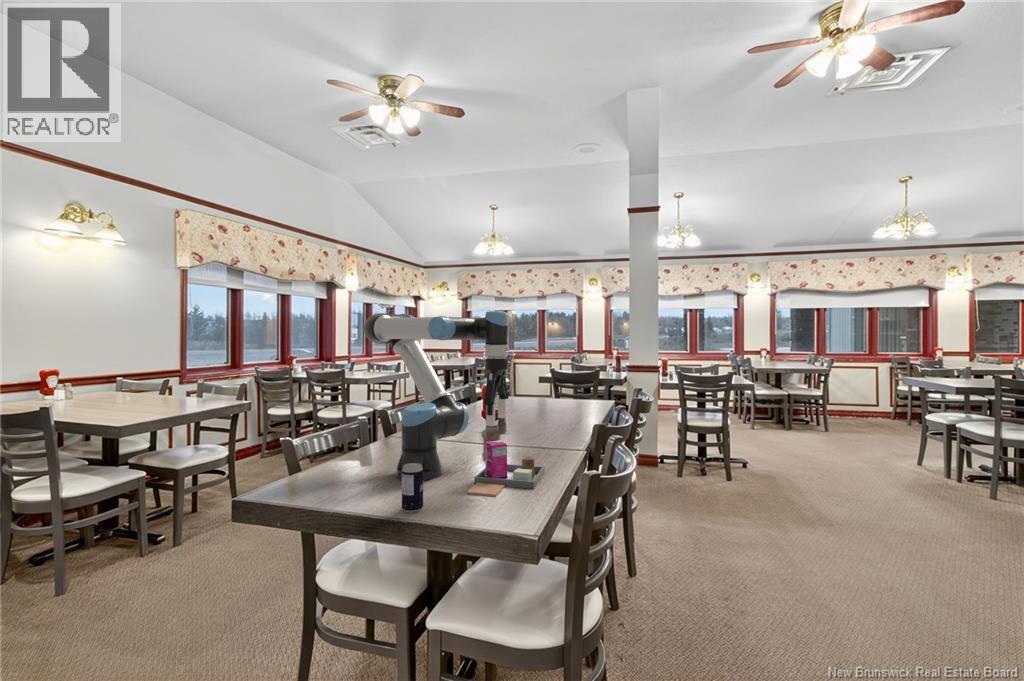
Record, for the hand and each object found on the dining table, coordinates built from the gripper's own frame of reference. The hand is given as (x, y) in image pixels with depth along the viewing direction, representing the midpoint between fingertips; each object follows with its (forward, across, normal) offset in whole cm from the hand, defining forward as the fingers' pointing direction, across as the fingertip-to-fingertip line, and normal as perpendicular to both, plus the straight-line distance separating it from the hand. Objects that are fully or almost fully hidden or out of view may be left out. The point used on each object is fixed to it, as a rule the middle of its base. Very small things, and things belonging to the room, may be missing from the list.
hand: (496, 421), depth 156 cm
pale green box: (+18, -4, -10) cm, 21 cm away
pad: (+18, -14, -1) cm, 23 cm away
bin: (+18, 0, -5) cm, 19 cm away
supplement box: (+19, 0, 0) cm, 19 cm away
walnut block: (+18, +4, -10) cm, 21 cm away
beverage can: (+19, -34, +14) cm, 41 cm away
